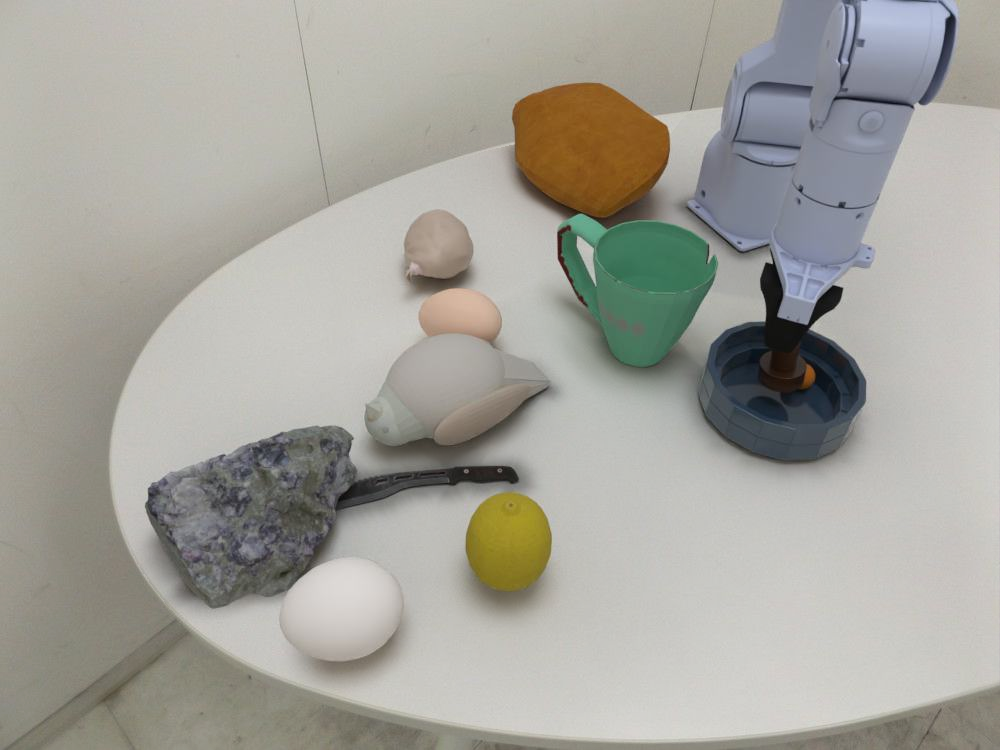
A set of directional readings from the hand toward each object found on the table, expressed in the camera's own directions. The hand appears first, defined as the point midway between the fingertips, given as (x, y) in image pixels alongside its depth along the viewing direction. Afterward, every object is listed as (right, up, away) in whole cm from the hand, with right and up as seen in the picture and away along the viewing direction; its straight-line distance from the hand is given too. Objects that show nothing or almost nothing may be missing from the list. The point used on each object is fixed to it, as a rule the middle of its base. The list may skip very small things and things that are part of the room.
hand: (780, 337), depth 66 cm
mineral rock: (-40, -9, -7) cm, 42 cm away
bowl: (+1, -6, +4) cm, 7 cm away
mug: (-12, +1, +9) cm, 15 cm away
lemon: (-21, -17, -9) cm, 29 cm away
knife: (-28, -12, -5) cm, 31 cm away
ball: (+3, -3, +4) cm, 6 cm away
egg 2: (-22, +1, +3) cm, 22 cm away
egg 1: (-28, -16, -14) cm, 35 cm away
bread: (-11, +18, +28) cm, 35 cm away
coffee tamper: (+1, -3, +2) cm, 4 cm away
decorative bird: (-25, -6, +2) cm, 26 cm away
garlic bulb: (-25, +10, +15) cm, 31 cm away
